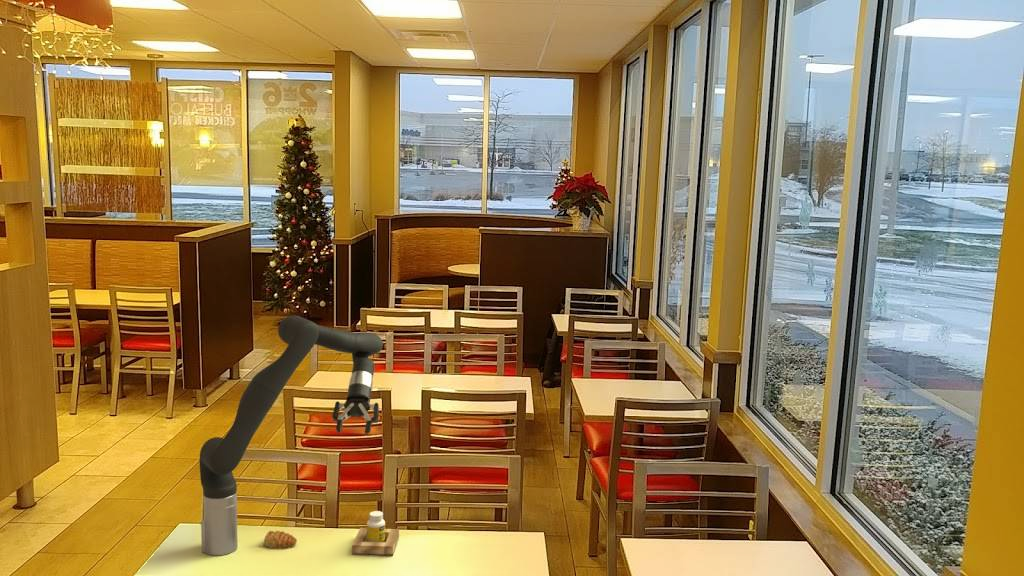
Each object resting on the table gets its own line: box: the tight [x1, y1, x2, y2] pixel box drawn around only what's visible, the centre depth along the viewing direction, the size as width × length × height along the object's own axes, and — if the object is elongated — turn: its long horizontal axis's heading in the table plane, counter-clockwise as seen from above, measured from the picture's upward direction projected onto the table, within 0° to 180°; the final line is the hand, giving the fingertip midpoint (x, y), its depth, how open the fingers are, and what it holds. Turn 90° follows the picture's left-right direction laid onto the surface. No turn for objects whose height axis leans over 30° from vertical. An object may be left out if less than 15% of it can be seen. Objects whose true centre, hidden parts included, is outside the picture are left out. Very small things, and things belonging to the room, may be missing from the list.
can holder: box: [351, 527, 400, 557], centre depth 241 cm, size 12×12×3 cm
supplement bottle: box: [366, 510, 386, 542], centre depth 241 cm, size 5×5×10 cm
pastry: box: [263, 530, 298, 550], centre depth 241 cm, size 9×7×4 cm
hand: (352, 433), depth 251 cm, fingers open, 8 cm apart
